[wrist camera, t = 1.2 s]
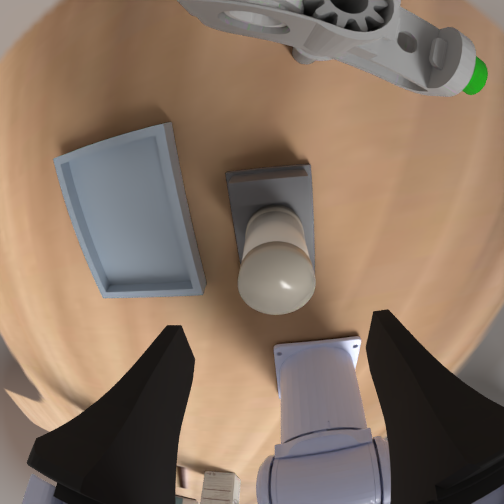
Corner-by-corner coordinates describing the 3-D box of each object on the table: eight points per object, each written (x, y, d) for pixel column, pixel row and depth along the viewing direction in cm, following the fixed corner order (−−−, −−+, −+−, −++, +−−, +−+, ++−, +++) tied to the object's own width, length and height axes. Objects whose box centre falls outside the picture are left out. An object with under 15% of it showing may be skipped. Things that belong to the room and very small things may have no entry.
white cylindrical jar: (303, 253, 19) (315, 311, 14) (250, 257, 20) (243, 316, 14) (301, 202, 17) (315, 248, 12) (242, 207, 18) (231, 255, 13)
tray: (206, 282, 21) (202, 295, 20) (110, 287, 22) (102, 298, 21) (171, 121, 16) (163, 123, 14) (65, 154, 17) (53, 158, 15)
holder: (314, 277, 21) (318, 295, 19) (244, 282, 21) (242, 301, 19) (309, 163, 17) (315, 171, 15) (226, 171, 17) (220, 181, 15)
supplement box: (241, 479, 52) (238, 522, 41) (212, 477, 52) (206, 519, 41) (235, 472, 48) (231, 519, 37) (204, 470, 49) (197, 516, 38)
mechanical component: (377, 102, 14) (483, 115, 6) (213, 55, 13) (147, 4, 5) (388, 62, 13) (495, 43, 4) (225, 14, 12) (178, -69, 3)
